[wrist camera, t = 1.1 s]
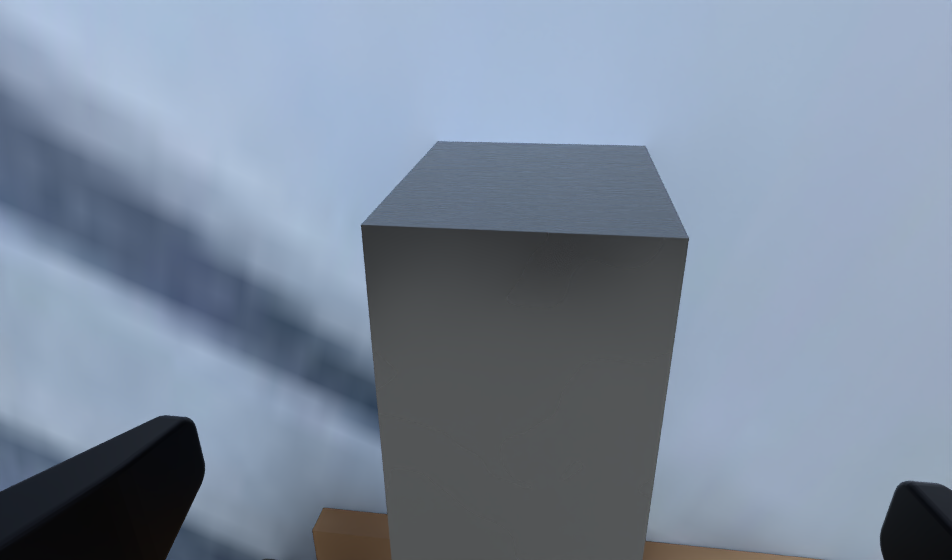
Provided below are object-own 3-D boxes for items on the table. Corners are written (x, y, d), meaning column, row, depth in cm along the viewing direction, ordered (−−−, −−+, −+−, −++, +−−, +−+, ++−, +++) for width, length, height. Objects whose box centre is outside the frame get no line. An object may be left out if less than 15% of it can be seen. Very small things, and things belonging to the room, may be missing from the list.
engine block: (645, 145, 12) (689, 237, 7) (617, 405, 14) (637, 593, 10) (438, 140, 12) (361, 225, 8) (447, 392, 15) (392, 564, 10)
